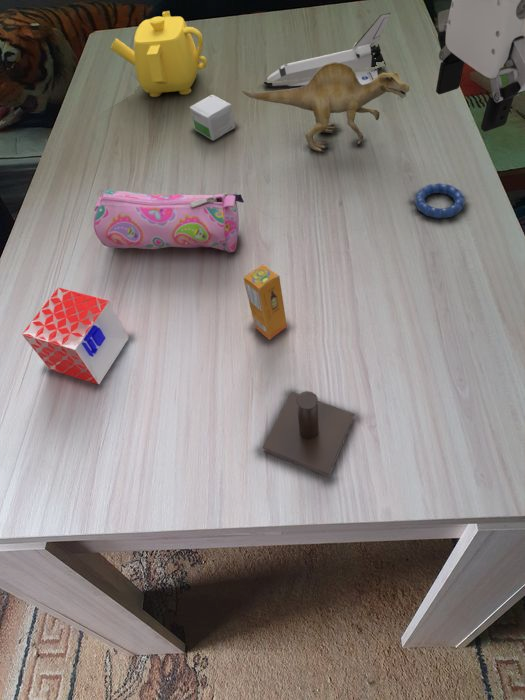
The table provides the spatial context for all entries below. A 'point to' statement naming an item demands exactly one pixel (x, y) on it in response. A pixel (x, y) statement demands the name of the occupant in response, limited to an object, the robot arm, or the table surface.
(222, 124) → the small box
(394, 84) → the dinosaur figurine
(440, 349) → the table surface
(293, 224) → the table surface
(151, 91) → the teapot
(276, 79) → the space shuttle model
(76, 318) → the red patterned cube box
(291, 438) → the peg
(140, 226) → the pencil case
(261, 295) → the supplement box
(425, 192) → the ring
